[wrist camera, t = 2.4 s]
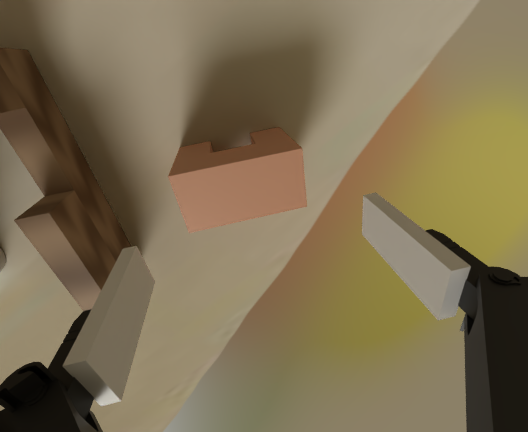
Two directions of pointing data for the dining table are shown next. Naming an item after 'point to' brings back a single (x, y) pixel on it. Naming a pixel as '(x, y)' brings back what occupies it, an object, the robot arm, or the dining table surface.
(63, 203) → the slotted board
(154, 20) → the dining table surface
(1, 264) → the coffee cup
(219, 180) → the notched block
